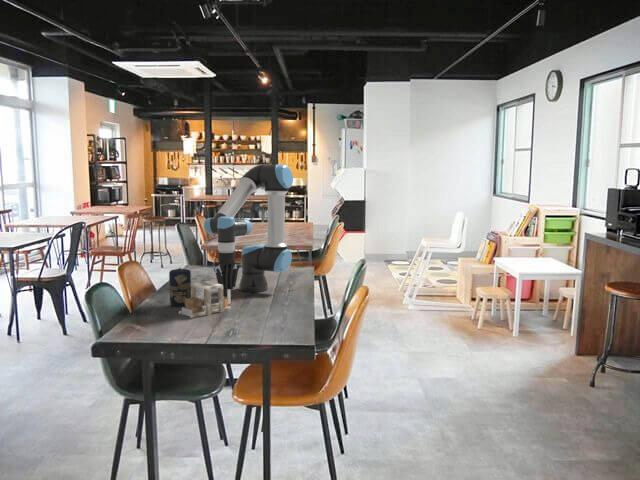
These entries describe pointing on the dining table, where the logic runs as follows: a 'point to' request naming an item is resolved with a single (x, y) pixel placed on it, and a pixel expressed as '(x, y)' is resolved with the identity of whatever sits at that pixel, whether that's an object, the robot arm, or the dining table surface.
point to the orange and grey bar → (202, 308)
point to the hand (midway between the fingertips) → (227, 303)
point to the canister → (179, 286)
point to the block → (193, 304)
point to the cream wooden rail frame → (208, 297)
